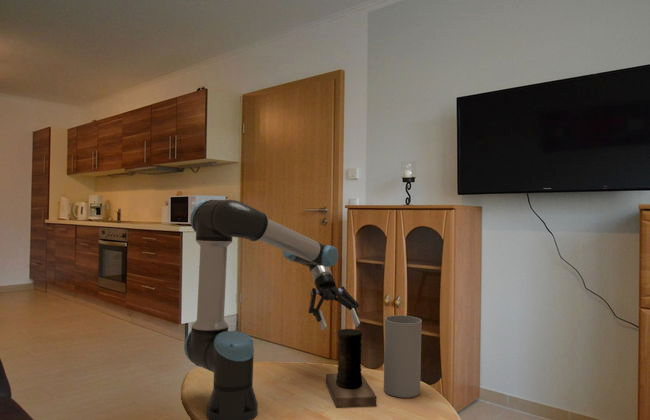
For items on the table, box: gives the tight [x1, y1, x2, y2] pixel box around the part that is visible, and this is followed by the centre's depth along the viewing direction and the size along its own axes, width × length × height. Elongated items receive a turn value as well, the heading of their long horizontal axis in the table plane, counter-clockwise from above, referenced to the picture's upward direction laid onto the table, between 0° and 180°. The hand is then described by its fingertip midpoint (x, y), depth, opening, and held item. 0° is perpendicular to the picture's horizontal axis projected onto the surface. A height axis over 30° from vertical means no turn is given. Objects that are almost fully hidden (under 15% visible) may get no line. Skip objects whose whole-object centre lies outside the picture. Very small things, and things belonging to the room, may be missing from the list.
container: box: [336, 328, 363, 389], centre depth 155 cm, size 9×9×18 cm
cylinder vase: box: [383, 314, 423, 399], centre depth 158 cm, size 12×12×25 cm
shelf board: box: [325, 373, 377, 409], centre depth 155 cm, size 13×22×3 cm, turn 8°
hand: (341, 327), depth 162 cm, fingers open, 13 cm apart
